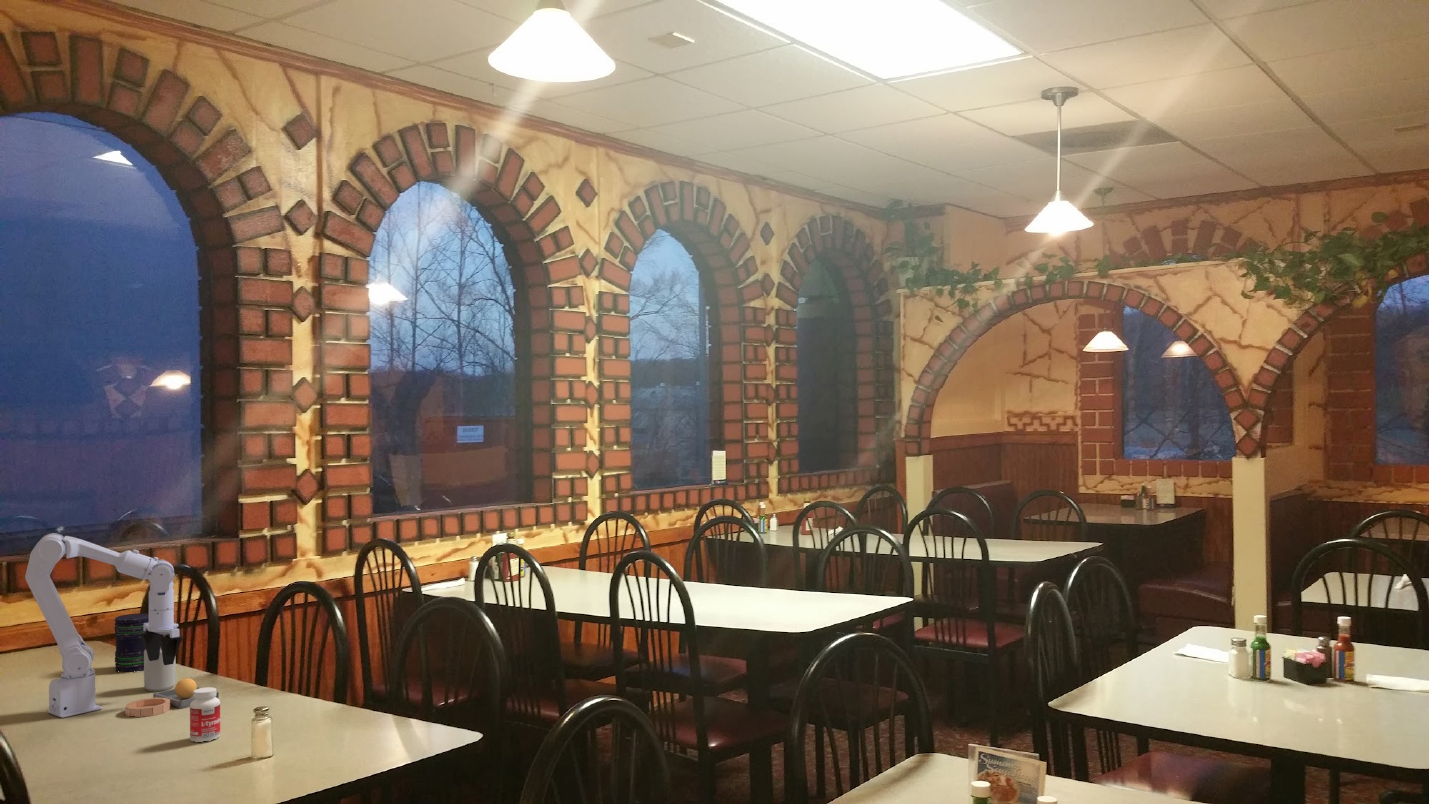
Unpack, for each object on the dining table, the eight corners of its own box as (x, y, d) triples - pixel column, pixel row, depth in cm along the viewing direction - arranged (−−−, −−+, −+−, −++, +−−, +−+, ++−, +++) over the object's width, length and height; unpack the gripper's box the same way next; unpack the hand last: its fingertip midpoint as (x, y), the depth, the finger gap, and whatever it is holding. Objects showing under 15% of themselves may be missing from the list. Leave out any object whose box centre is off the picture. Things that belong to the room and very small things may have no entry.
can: (166, 692, 281) (166, 646, 281) (138, 692, 281) (137, 646, 281) (181, 684, 288) (181, 640, 288) (153, 684, 288) (153, 640, 288)
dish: (137, 719, 257) (137, 710, 257) (118, 712, 262) (118, 704, 262) (177, 709, 264) (177, 701, 264) (157, 703, 270) (157, 695, 270)
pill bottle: (201, 744, 237) (201, 694, 237) (184, 740, 240) (183, 691, 240) (226, 737, 242) (225, 688, 242) (209, 733, 245) (208, 684, 245)
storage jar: (122, 665, 310) (121, 613, 310) (158, 663, 312) (158, 612, 312) (109, 673, 301) (108, 620, 301) (147, 672, 302) (146, 619, 302)
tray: (179, 708, 265) (179, 701, 265) (153, 700, 273) (153, 693, 273) (218, 699, 273) (218, 692, 273) (191, 691, 281) (191, 685, 281)
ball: (181, 701, 269) (181, 681, 270) (171, 699, 272) (170, 679, 272) (200, 697, 274) (200, 677, 274) (190, 694, 276) (190, 675, 276)
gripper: (191, 609, 272) (191, 663, 272) (163, 603, 280) (162, 655, 280) (163, 614, 266) (163, 668, 266) (135, 607, 275) (135, 660, 275)
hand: (161, 662), depth 273 cm, fingers open, 7 cm apart
